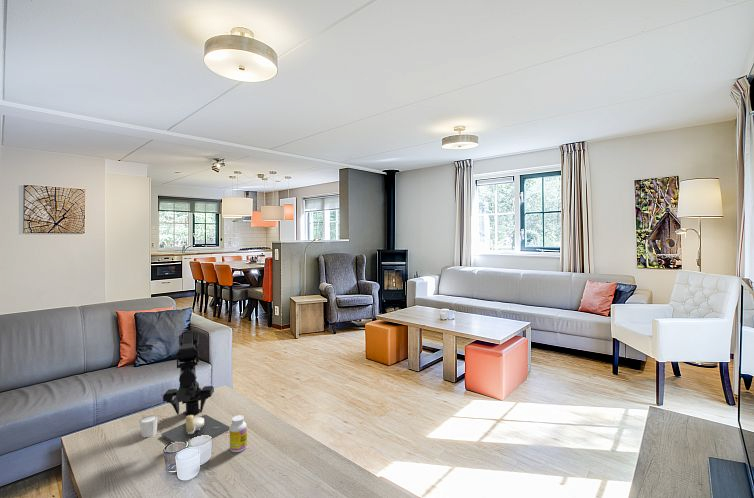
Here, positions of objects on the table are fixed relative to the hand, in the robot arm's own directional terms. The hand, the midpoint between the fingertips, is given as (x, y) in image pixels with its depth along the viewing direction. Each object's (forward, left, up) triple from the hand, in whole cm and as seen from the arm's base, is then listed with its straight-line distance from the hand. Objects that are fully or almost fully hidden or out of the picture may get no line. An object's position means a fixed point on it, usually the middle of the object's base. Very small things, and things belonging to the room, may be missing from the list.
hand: (189, 413), depth 155 cm
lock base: (-5, +5, -13) cm, 15 cm away
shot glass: (-22, -7, -13) cm, 27 cm away
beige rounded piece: (-3, +3, -9) cm, 10 cm away
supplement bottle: (+21, +9, -13) cm, 26 cm away
